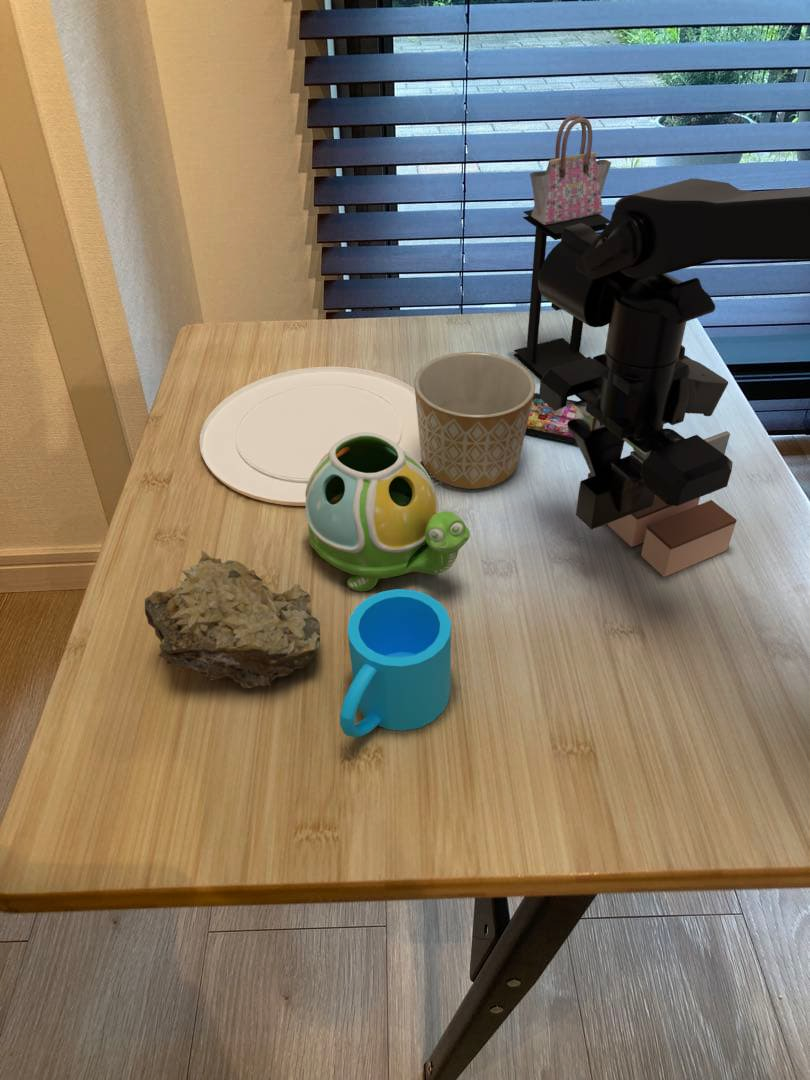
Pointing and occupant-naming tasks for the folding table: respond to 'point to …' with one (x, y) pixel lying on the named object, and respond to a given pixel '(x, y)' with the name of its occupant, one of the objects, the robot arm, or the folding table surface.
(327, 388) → the plate
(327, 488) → the turtle holder
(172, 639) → the mineral specimen
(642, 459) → the robot arm
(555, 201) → the handbag
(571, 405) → the smartphone
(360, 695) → the mug
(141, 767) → the folding table surface
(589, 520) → the knife
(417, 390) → the planter
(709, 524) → the brown block
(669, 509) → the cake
